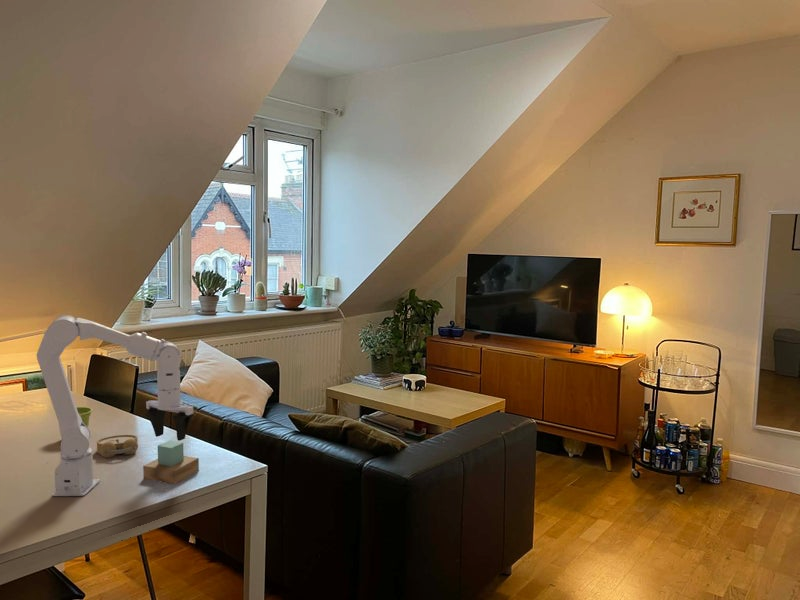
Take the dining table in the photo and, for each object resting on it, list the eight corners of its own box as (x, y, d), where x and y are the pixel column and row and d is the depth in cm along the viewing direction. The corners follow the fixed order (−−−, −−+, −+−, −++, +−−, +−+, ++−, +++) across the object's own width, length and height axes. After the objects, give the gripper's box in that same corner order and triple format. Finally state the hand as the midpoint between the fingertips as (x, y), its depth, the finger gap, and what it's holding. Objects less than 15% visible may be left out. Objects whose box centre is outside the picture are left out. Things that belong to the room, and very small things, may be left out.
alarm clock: (135, 432, 193) (141, 438, 180) (136, 448, 193) (141, 455, 180) (95, 438, 188) (98, 444, 175) (96, 454, 188) (99, 461, 175)
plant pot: (99, 436, 198) (98, 409, 197) (71, 444, 190) (70, 417, 189) (81, 431, 203) (80, 405, 202) (53, 439, 195) (52, 412, 194)
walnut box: (198, 472, 170) (198, 458, 170) (174, 485, 161) (174, 470, 161) (168, 467, 174) (168, 453, 173) (143, 480, 164) (143, 465, 164)
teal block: (183, 460, 168) (183, 442, 167) (171, 466, 164) (171, 448, 163) (170, 458, 170) (169, 440, 169) (158, 463, 165) (157, 445, 165)
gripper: (200, 387, 165) (201, 436, 167) (159, 382, 171) (160, 429, 172) (182, 393, 159) (183, 444, 160) (139, 387, 165) (141, 437, 166)
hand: (170, 437), depth 166 cm, fingers open, 7 cm apart
